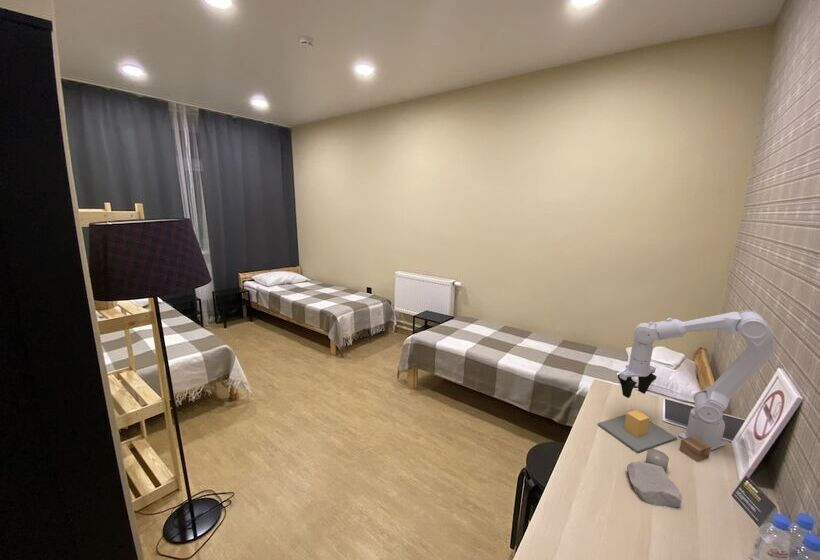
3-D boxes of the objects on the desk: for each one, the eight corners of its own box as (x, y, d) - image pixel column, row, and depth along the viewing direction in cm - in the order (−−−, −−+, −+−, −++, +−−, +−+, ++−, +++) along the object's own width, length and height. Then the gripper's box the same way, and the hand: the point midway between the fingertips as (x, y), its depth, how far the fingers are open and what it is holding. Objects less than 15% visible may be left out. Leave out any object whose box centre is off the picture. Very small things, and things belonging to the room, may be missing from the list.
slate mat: (634, 414, 120) (635, 412, 120) (676, 439, 108) (677, 437, 107) (597, 425, 114) (597, 423, 114) (637, 453, 101) (637, 451, 101)
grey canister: (651, 458, 100) (653, 446, 99) (670, 470, 95) (672, 458, 94) (641, 464, 97) (643, 452, 96) (660, 476, 93) (662, 464, 92)
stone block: (641, 510, 85) (686, 509, 83) (639, 493, 84) (684, 492, 82) (621, 475, 96) (659, 473, 94) (619, 460, 96) (658, 458, 94)
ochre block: (633, 425, 113) (636, 409, 112) (646, 433, 109) (649, 417, 107) (623, 428, 111) (626, 412, 110) (636, 437, 107) (639, 420, 106)
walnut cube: (690, 447, 104) (692, 436, 104) (708, 458, 100) (711, 447, 99) (678, 450, 103) (681, 439, 102) (696, 462, 98) (699, 450, 97)
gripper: (643, 350, 119) (637, 384, 122) (613, 356, 114) (608, 392, 117) (664, 358, 112) (657, 395, 116) (633, 365, 108) (627, 403, 111)
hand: (633, 394), depth 116 cm, fingers open, 7 cm apart
